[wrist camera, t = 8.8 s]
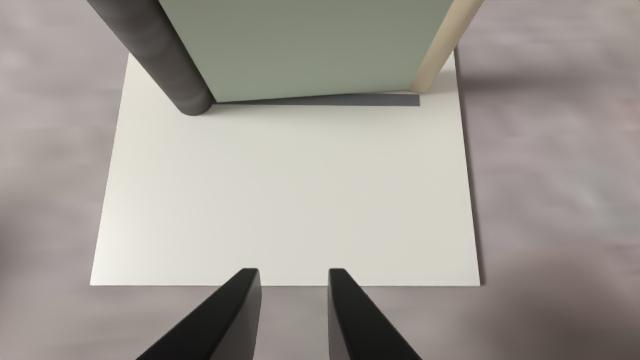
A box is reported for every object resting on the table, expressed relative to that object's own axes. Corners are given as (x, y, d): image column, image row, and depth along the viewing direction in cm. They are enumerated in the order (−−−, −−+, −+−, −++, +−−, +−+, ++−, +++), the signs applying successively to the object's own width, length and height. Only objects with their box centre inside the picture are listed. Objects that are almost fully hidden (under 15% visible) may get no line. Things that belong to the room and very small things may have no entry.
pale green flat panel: (434, 91, 21) (559, -98, 10) (217, 106, 21) (109, -75, 10) (429, 66, 22) (543, -141, 11) (217, 80, 21) (114, -122, 10)
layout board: (476, 285, 19) (480, 286, 18) (95, 284, 19) (89, 285, 18) (435, -81, 26) (438, -89, 25) (157, -86, 26) (153, -93, 25)
